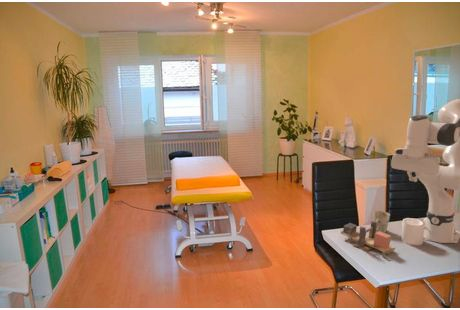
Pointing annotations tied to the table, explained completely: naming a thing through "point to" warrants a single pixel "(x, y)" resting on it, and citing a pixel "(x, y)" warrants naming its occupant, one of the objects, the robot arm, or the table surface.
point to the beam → (352, 233)
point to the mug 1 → (381, 220)
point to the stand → (361, 242)
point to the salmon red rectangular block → (382, 240)
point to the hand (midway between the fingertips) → (413, 181)
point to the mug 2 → (414, 231)
